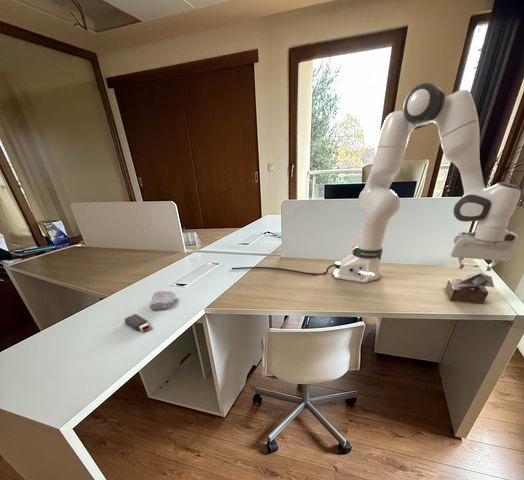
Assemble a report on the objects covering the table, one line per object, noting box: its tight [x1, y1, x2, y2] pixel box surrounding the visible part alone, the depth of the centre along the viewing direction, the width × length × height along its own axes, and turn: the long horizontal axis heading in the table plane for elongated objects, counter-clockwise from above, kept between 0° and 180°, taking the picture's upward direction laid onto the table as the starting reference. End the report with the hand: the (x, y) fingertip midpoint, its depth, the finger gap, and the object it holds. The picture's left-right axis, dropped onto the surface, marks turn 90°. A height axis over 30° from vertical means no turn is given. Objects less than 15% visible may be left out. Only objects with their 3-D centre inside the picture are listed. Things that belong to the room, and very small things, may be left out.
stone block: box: [148, 290, 177, 311], centre depth 126 cm, size 12×5×10 cm
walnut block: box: [444, 278, 490, 305], centre depth 119 cm, size 12×12×5 cm
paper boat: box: [460, 272, 495, 290], centre depth 114 cm, size 12×6×9 cm
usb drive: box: [124, 313, 151, 333], centre depth 112 cm, size 5×12×3 cm, turn 48°
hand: (473, 269), depth 114 cm, fingers open, 8 cm apart
